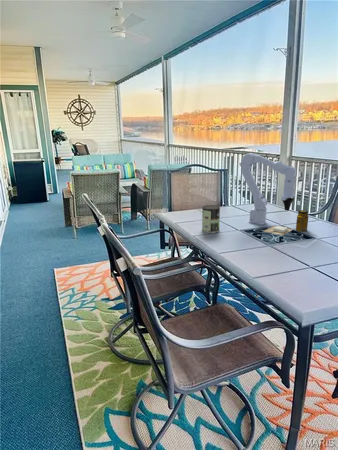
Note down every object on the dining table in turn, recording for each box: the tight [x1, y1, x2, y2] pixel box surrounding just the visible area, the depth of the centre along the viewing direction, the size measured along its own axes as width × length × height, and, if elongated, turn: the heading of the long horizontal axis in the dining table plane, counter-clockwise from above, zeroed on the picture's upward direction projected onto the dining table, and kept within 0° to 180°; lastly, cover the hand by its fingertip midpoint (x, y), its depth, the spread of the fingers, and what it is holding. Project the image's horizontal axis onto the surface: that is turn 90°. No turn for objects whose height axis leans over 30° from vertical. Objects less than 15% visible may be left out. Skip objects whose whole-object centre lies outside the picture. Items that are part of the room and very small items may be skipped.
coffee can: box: [201, 204, 221, 234], centre depth 187 cm, size 10×10×14 cm
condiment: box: [295, 209, 309, 233], centre depth 183 cm, size 7×8×12 cm
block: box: [273, 225, 289, 233], centre depth 184 cm, size 6×2×6 cm
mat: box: [263, 225, 293, 236], centre depth 185 cm, size 12×14×1 cm
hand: (286, 210), depth 192 cm, fingers closed
